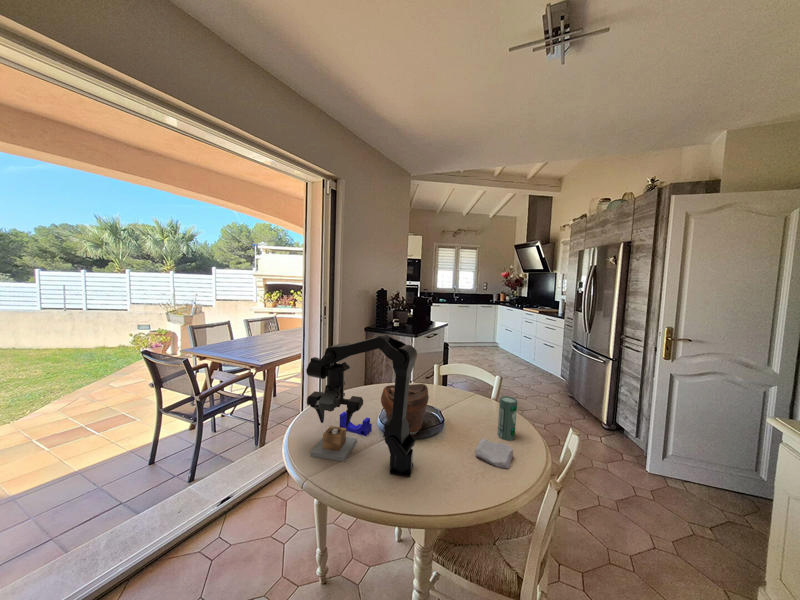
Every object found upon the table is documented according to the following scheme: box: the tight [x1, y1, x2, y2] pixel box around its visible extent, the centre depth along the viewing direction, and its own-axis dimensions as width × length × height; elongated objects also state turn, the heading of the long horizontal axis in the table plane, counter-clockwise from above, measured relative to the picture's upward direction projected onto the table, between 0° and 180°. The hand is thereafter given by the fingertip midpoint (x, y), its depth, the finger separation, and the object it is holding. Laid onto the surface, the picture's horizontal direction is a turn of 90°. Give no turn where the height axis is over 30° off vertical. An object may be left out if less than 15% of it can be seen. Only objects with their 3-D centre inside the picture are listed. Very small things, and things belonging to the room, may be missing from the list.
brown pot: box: [380, 383, 430, 437], centre depth 121 cm, size 18×20×18 cm
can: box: [497, 395, 518, 441], centre depth 118 cm, size 6×6×15 cm
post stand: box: [310, 428, 358, 463], centre depth 105 cm, size 12×12×7 cm
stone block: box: [474, 438, 514, 469], centre depth 104 cm, size 12×5×10 cm
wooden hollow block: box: [322, 425, 347, 451], centre depth 105 cm, size 6×6×5 cm
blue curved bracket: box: [339, 411, 373, 437], centre depth 119 cm, size 12×4×6 cm, turn 66°
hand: (334, 424), depth 105 cm, fingers open, 9 cm apart
